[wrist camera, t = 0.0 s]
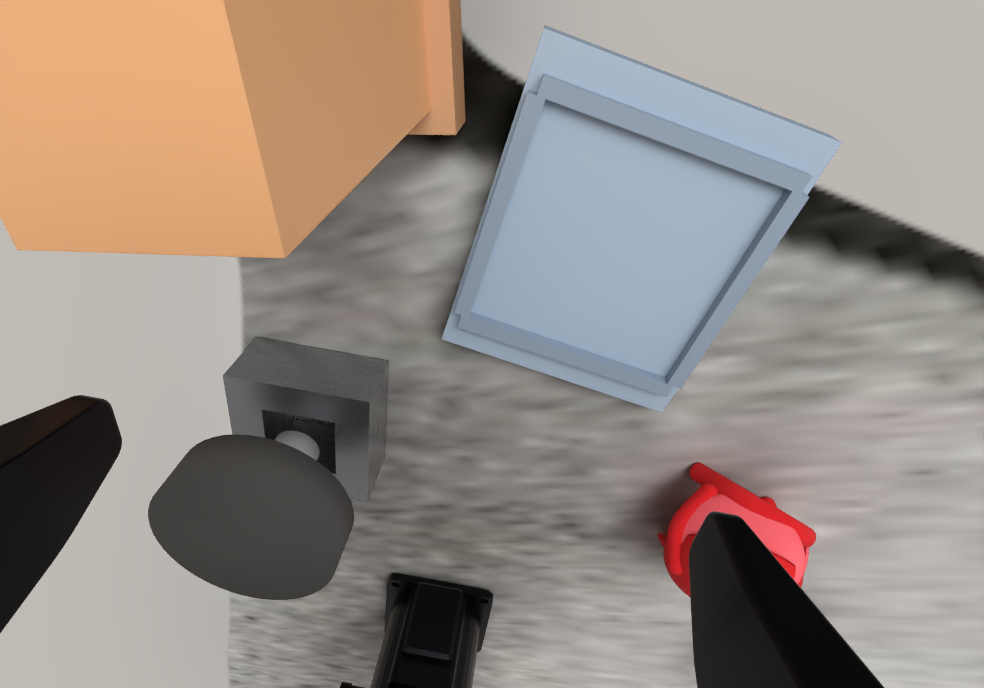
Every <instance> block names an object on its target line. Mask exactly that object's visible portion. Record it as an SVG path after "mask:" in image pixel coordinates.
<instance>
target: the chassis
mask: <svg viewBox="0 0 984 688" xmlns="http://www.w3.org/2000/svg"><path fill="white" fill-rule="evenodd" d="M841 143H842V142H840V141H839V140H837V139H836V138H834V137H833V136H831V135H829V134H827V133H824V132H821V131H818V130H816V129H813V128H811V127H808V126H806V125H803V124H801V123H798V122H795V121H793V120H790V119H788V118H785V117H782V116H780V115H777V114H775V113H772V112H769V111H766V110H764V109H761V108H759V107H756V106H754V105H751V104H748V103H746V102H743V101H741V100H738V99H735V98H733V97H730V96H728V95H725V94H722V93H720V92H717V91H714V90H712V89H709V88H707V87H704V86H702V85H699V84H696V83H693V82H691V81H689V80H686V79H683V78H681V77H678V76H676V75H673V74H670V73H668V72H665V71H662V70H660V69H657V68H655V67H652V66H649V65H647V64H644V63H642V62H639V61H637V60H634V59H631V58H629V57H626V56H623V55H621V54H618V53H616V52H613V51H610V50H608V49H605V48H603V47H600V46H598V45H595V44H592V43H590V42H587V41H584V40H582V39H579V38H577V37H574V36H571V35H569V34H566V33H563V32H561V31H558V30H556V29H553V28H551V27H548V26H544V29H543V32H542V35H541V38H540V41H539V44H538V47H537V51H536V53H535V56H534V60H533V62H532V65H531V69H530V71H529V75H528V78H527V81H526V84H525V87H524V90H523V93H522V96H521V99H520V102H519V105H518V108H517V111H516V114H515V117H514V120H513V123H512V126H511V129H510V132H509V135H508V138H507V142H506V145H505V148H504V151H503V154H502V157H501V160H500V163H499V166H498V169H497V172H496V175H495V178H494V181H493V184H492V187H491V190H490V193H489V196H488V199H487V202H486V206H485V209H484V212H483V215H482V218H481V221H480V224H479V227H478V230H477V233H476V236H475V239H474V242H473V245H472V248H471V251H470V254H469V257H468V260H467V263H466V266H465V269H464V273H463V276H462V279H461V282H460V285H459V288H458V291H457V294H456V297H455V300H454V303H453V306H452V309H451V312H450V315H449V318H448V321H447V324H446V327H445V330H444V333H443V336H442V340H445V341H448V342H451V343H454V344H457V345H460V346H463V347H466V348H469V349H472V350H475V351H478V352H481V353H484V354H487V355H490V356H493V357H496V358H499V359H502V360H505V361H508V362H511V363H514V364H517V365H520V366H523V367H526V368H529V369H532V370H535V371H538V372H541V373H544V374H547V375H550V376H553V377H556V378H559V379H562V380H565V381H568V382H571V383H574V384H577V385H581V386H584V387H587V388H590V389H593V390H596V391H599V392H602V393H605V394H608V395H611V396H614V397H617V398H620V399H623V400H626V401H629V402H632V403H635V404H638V405H641V406H644V407H647V408H650V409H653V410H656V411H659V412H663V411H664V409H665V408H666V406H667V405H668V403H669V402H670V400H671V399H672V397H673V396H674V394H675V393H676V391H677V390H678V388H679V389H681V388H682V386H683V385H684V383H685V382H686V380H687V379H688V377H689V376H690V374H691V373H692V371H693V370H694V368H695V367H696V365H697V364H698V362H699V361H700V359H701V358H702V357H703V355H704V354H705V352H706V351H707V349H708V348H709V346H710V345H711V343H712V342H713V340H714V339H715V337H716V336H717V334H718V333H719V331H720V330H721V328H722V327H723V325H724V324H725V322H726V321H727V319H728V318H729V316H730V315H731V313H732V312H733V310H734V309H735V307H736V306H737V304H738V303H739V301H740V300H741V298H742V297H743V295H744V294H745V292H746V291H747V289H748V288H749V286H750V285H751V283H752V282H753V280H754V279H755V277H756V276H757V275H758V273H759V272H760V270H761V269H762V267H763V266H764V264H765V263H766V261H767V260H768V258H769V257H770V255H771V254H772V252H773V251H774V249H775V248H776V246H777V245H778V243H779V242H780V240H781V239H782V237H783V236H784V234H785V233H786V231H787V230H788V228H789V227H790V225H791V224H792V222H793V221H794V219H795V218H796V216H797V215H798V213H799V212H800V210H801V209H802V207H803V206H804V204H805V203H806V201H807V200H808V198H809V197H808V196H807V195H808V193H809V192H810V190H811V189H812V187H813V186H814V184H815V183H816V181H817V180H818V178H819V177H820V175H821V174H822V172H823V171H824V169H825V168H826V166H827V165H828V163H829V161H830V160H831V159H832V157H833V156H834V154H835V153H836V151H837V150H838V148H839V147H840V145H841Z"/></svg>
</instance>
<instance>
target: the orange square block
mask: <svg viewBox="0 0 984 688" xmlns="http://www.w3.org/2000/svg"><path fill="white" fill-rule="evenodd" d="M464 122H465V99H464V76H463V52H462V29H461V7H460V0H0V217H1V219H2V221H3V223H4V225H5V227H6V229H7V231H8V233H9V235H10V237H11V238H12V240H13V242H14V245H15V246H16V248H17V250H38V251H70V252H71V251H72V252H102V253H134V254H166V255H197V256H198V255H199V256H230V257H231V256H232V257H261V258H286V257H287V256H288V255H289V254H290V253H291V252H292V251H293V250H294V249H295V248H296V247H297V246H298V245H299V244H300V243H301V242H302V241H303V240H304V239H305V238H306V237H307V236H308V235H309V234H310V233H311V232H312V230H313V229H314V228H315V227H316V226H317V225H318V224H319V223H320V222H321V221H322V220H323V219H324V218H325V217H326V216H327V215H328V214H329V213H330V212H331V211H332V210H333V209H334V208H335V207H336V206H337V205H338V204H339V203H340V202H341V201H342V200H343V199H344V198H345V197H346V196H347V195H348V194H349V193H350V192H351V191H352V190H353V189H354V188H355V187H356V186H357V185H358V184H359V183H360V182H361V181H362V180H363V179H364V178H365V177H366V176H367V175H368V174H369V173H370V172H371V170H372V169H373V168H374V167H375V166H376V165H377V164H378V163H379V162H380V161H381V160H382V159H383V158H384V157H385V156H386V155H387V154H388V153H389V152H390V151H391V150H392V149H393V148H394V147H395V146H396V145H397V144H398V143H399V142H400V141H401V140H402V139H403V138H404V137H405V136H406V135H456V134H457V133H458V131H459V130H460V128H461V127H462V125H463V124H464Z"/></svg>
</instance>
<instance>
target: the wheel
mask: <svg viewBox="0 0 984 688" xmlns="http://www.w3.org/2000/svg"><path fill="white" fill-rule="evenodd" d="M319 454H320V451H319V447H318V445H317V443H316V442H315V441H314V440H313V439H312V438H311V437H309V436H308V435H306V434H304V433H302V432H298V431H284V432H282V433H280V434H279V435H278V436H277V437H276V439H275V440H272V439H268V438H263V437H259V436H252V435H237V434H234V435H223V436H217V437H213V438H210V439H207V440H204V441H202V442H201V443H199V444H197V445H196V446H195V447H193V448H192V449H190V451H189V452H188V453H187V454H186V455H185V457H184V458H183V459H182V460H181V462H180V463H179V464H178V465H177V467H176V468H175V469H174V471H173V472H172V473H171V474H170V476H169V477H168V478H167V479H166V481H165V482H164V483H163V484H162V486H161V487H160V488H159V489H158V491H157V492H156V493H155V495H154V496H153V498H152V500H151V502H150V505H149V509H148V518H149V523H150V527H151V529H152V531H153V534H154V536H155V537H156V539H157V541H158V542H159V544H160V545H161V546H162V547H163V549H164V550H165V551H166V552H167V553H168V554H169V555H170V556H171V557H172V558H173V559H174V560H175V561H176V562H177V563H179V564H180V565H181V566H183V567H184V568H185V569H187V570H188V571H190V572H191V573H193V574H194V575H196V576H198V577H199V578H201V579H203V580H205V581H207V582H209V583H211V584H213V585H215V586H217V587H220V588H223V589H225V590H228V591H230V592H234V593H237V594H241V595H245V596H249V597H254V598H261V599H271V600H287V599H296V598H301V597H305V596H308V595H311V594H313V593H315V592H317V591H319V590H321V589H322V588H323V587H325V586H326V585H327V584H328V583H329V582H330V580H331V579H332V577H333V575H334V573H335V571H336V568H337V565H338V563H339V560H340V558H341V555H342V553H343V550H344V547H345V545H346V542H347V540H348V537H349V535H350V532H351V529H352V526H353V521H354V513H353V507H352V503H351V500H350V498H349V496H348V494H347V492H346V490H345V489H344V487H343V486H342V484H341V483H340V482H339V481H338V479H337V478H336V477H335V476H334V475H333V474H332V473H331V472H330V471H329V470H328V469H327V468H325V467H324V466H323V465H322V464H320V463H319V462H318V461H317V459H318V457H319Z"/></svg>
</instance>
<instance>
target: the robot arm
mask: <svg viewBox="0 0 984 688" xmlns="http://www.w3.org/2000/svg"><path fill="white" fill-rule="evenodd" d="M121 445H122V438H121V435H120V432H119V428H118V425H117V422H116V419H115V416H114V412H113V409H112V407H111V405H110V403H109V402H108V401H106V400H104V399H100V398H95V397H89V396H84V395H77V396H73V397H70V398H68V399H65V400H63V401H60V402H58V403H55V404H53V405H51V406H48V407H46V408H43V409H41V410H38V411H36V412H33V413H31V414H28V415H26V416H23V417H21V418H18V419H16V420H13V421H11V422H8V423H6V424H4V425H1V426H0V633H1V632H2V630H3V629H4V627H5V626H6V624H7V623H8V622H9V621H10V619H11V618H12V617H13V615H14V614H15V613H16V611H17V610H18V608H19V607H20V606H21V604H22V603H23V602H24V600H25V599H26V598H27V596H28V595H29V594H30V592H31V591H32V589H33V588H34V587H35V585H36V584H37V583H38V581H39V580H40V579H41V577H42V576H43V574H44V573H45V572H46V570H47V569H48V568H49V566H50V565H51V564H52V562H53V561H54V559H55V558H56V557H57V555H58V554H59V552H60V551H61V549H62V548H63V546H64V545H65V543H66V542H67V540H68V539H69V537H70V536H71V534H72V532H73V531H74V529H75V527H76V526H77V524H78V523H79V521H80V519H81V517H82V516H83V514H84V512H85V511H86V509H87V507H88V506H89V504H90V502H91V500H92V499H93V497H94V496H95V494H96V492H97V490H98V489H99V487H100V485H101V484H102V482H103V480H104V479H105V477H106V475H107V474H108V472H109V470H110V469H111V467H112V465H113V464H114V462H115V460H116V459H117V457H118V455H119V453H120V450H121ZM689 577H690V597H691V616H692V636H693V652H694V665H695V672H696V680H697V687H698V688H884V687H883V685H882V684H881V683H880V682H879V681H878V679H877V678H876V677H875V676H874V675H873V673H872V672H871V671H870V670H869V669H868V667H867V666H866V665H865V664H864V663H863V661H862V660H861V659H860V658H859V657H858V656H857V654H856V653H855V652H854V651H853V650H852V648H851V647H850V646H849V645H848V644H847V642H846V641H845V640H844V639H843V638H842V636H841V635H840V634H839V633H838V632H837V630H836V629H835V628H834V627H833V626H832V625H831V623H830V622H829V621H828V620H827V619H826V617H825V616H824V615H823V614H822V613H821V611H820V610H819V609H818V608H817V607H816V605H815V604H814V603H813V602H812V601H811V599H810V598H809V597H808V596H807V595H806V594H805V592H804V591H803V590H802V589H801V588H800V586H799V585H798V584H797V583H796V582H795V580H794V579H793V578H792V577H791V576H790V574H789V573H788V572H787V571H786V570H785V568H784V567H783V566H782V565H781V564H780V563H779V561H778V560H777V559H776V558H775V557H774V555H773V554H772V553H771V552H770V551H769V549H768V548H767V547H766V546H765V545H764V543H763V542H762V541H761V540H760V539H759V537H758V536H757V535H756V534H755V533H754V532H753V530H752V529H751V528H750V527H749V526H748V524H747V523H746V522H745V521H744V520H743V519H742V518H741V517H739V516H737V515H734V514H728V513H723V512H717V511H712V512H710V513H709V514H708V515H707V516H706V518H705V520H704V522H703V524H702V525H701V527H700V529H699V531H698V533H697V535H696V536H695V538H694V540H693V542H692V544H691V547H690V551H689ZM492 603H493V594H492V593H491V592H489V591H486V590H480V589H475V588H470V587H464V586H459V585H454V584H448V583H443V582H438V581H432V580H427V579H421V578H416V577H411V576H405V575H400V574H392V575H390V577H389V580H388V583H387V600H386V618H385V637H384V640H383V644H382V647H381V651H380V655H379V658H378V662H377V665H376V669H375V673H374V676H373V680H372V684H371V687H370V688H472V684H473V677H474V669H475V662H476V654H477V652H479V651H480V650H481V648H482V644H483V640H484V636H485V631H486V627H487V623H488V619H489V615H490V611H491V607H492ZM340 688H363V687H358V686H353V685H352V683H347V682H342V684H341V686H340Z"/></svg>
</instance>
